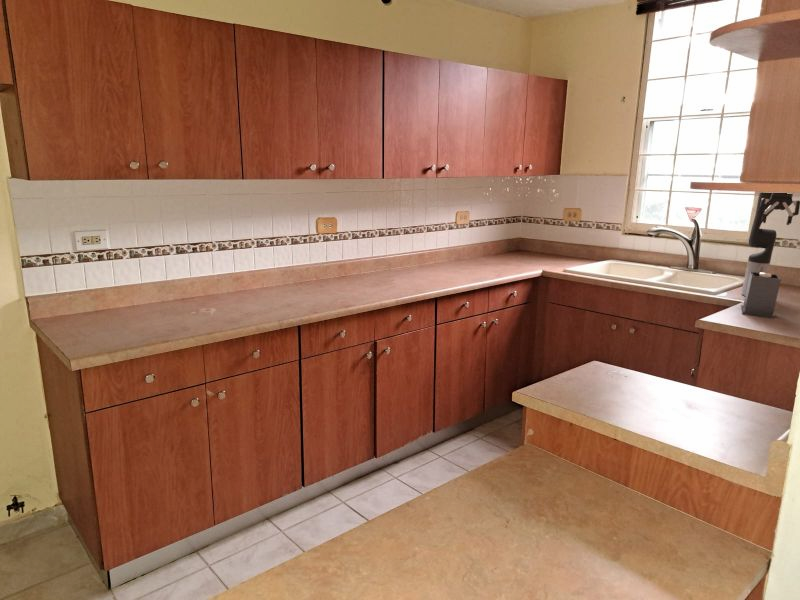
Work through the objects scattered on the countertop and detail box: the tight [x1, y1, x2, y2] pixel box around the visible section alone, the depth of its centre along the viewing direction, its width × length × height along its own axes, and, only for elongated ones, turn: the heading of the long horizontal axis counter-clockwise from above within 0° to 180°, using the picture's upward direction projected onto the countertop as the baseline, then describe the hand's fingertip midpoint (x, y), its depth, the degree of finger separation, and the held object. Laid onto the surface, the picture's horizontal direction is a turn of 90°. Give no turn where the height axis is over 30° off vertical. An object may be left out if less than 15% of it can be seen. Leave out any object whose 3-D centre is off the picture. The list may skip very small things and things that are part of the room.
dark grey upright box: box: [740, 272, 782, 319], centre depth 254 cm, size 12×12×17 cm
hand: (775, 223), depth 247 cm, fingers open, 8 cm apart
